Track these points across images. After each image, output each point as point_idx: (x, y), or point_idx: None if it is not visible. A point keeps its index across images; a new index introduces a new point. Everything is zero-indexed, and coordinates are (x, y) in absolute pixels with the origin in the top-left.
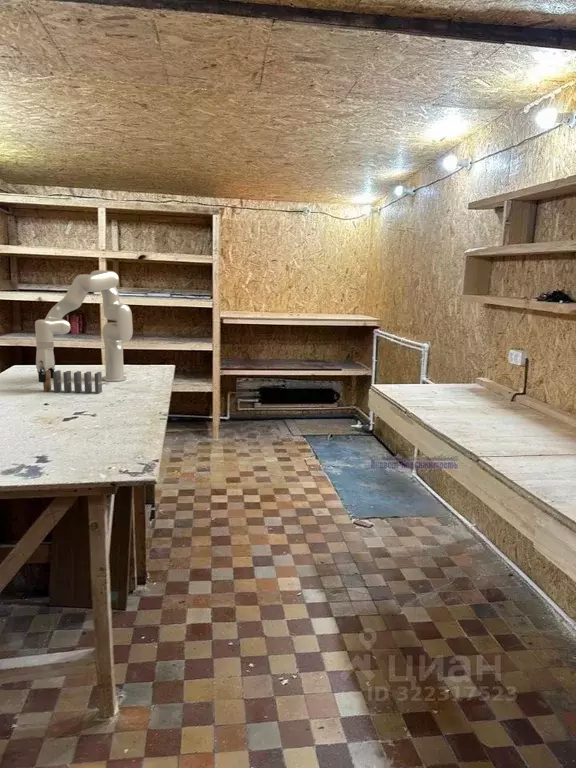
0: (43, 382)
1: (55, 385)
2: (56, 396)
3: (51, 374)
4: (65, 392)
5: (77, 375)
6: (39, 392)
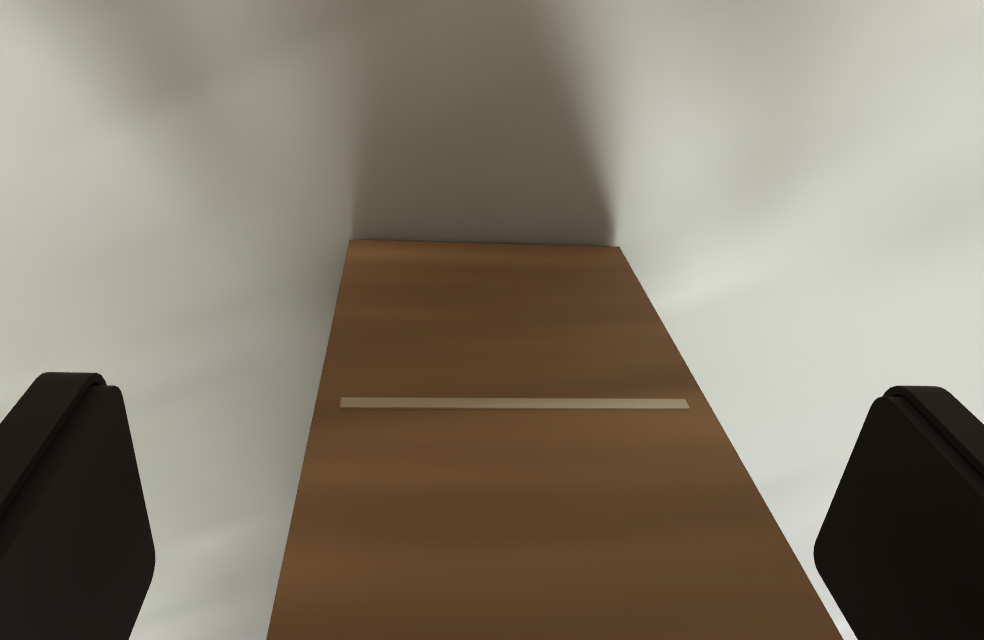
0: (317, 400)
1: None
2: None
3: (917, 622)
4: None
5: None
6: (315, 135)
